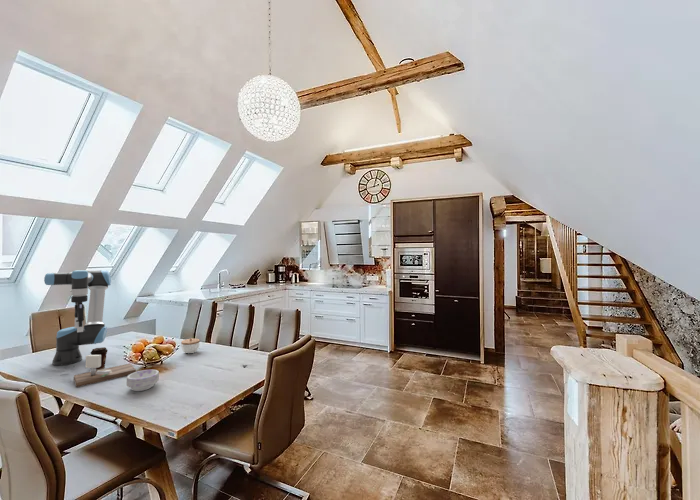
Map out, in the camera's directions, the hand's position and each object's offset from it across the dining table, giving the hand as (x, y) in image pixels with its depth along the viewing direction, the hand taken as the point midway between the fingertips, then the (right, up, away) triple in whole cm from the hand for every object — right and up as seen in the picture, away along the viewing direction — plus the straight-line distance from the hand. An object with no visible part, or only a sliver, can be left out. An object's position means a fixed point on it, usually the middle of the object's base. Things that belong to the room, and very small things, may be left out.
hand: (78, 329), depth 187 cm
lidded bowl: (+44, -30, +47) cm, 71 cm away
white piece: (+14, -26, -3) cm, 30 cm away
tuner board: (+16, -29, +1) cm, 33 cm away
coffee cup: (+1, -29, +13) cm, 32 cm away
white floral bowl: (+49, -30, -14) cm, 59 cm away
